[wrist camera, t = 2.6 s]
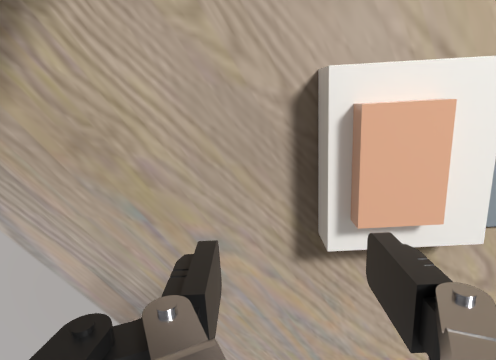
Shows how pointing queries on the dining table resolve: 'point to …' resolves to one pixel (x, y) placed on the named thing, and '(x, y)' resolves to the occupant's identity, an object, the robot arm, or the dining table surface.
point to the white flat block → (462, 154)
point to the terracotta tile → (401, 162)
